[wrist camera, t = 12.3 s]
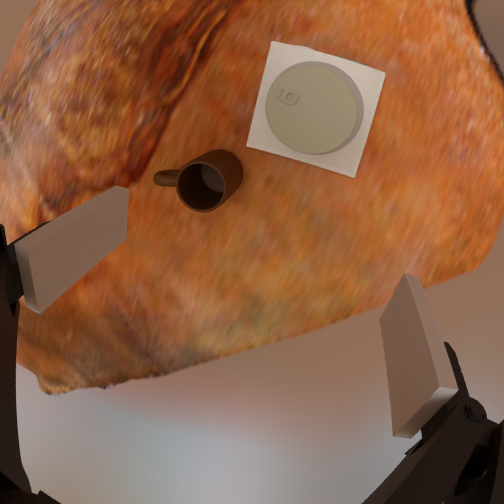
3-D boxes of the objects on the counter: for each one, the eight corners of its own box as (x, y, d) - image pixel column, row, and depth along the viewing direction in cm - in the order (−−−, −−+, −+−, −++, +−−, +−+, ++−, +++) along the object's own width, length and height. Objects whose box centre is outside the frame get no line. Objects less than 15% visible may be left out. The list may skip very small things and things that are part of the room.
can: (298, 63, 37) (288, 48, 26) (361, 95, 37) (375, 93, 26) (268, 121, 41) (248, 129, 31) (329, 153, 41) (331, 172, 31)
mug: (174, 188, 54) (147, 205, 46) (175, 144, 51) (147, 155, 42) (241, 197, 52) (225, 217, 44) (246, 151, 49) (229, 163, 41)
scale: (276, 42, 40) (270, 35, 36) (382, 72, 39) (388, 69, 34) (251, 143, 48) (243, 147, 44) (352, 173, 47) (355, 180, 42)
